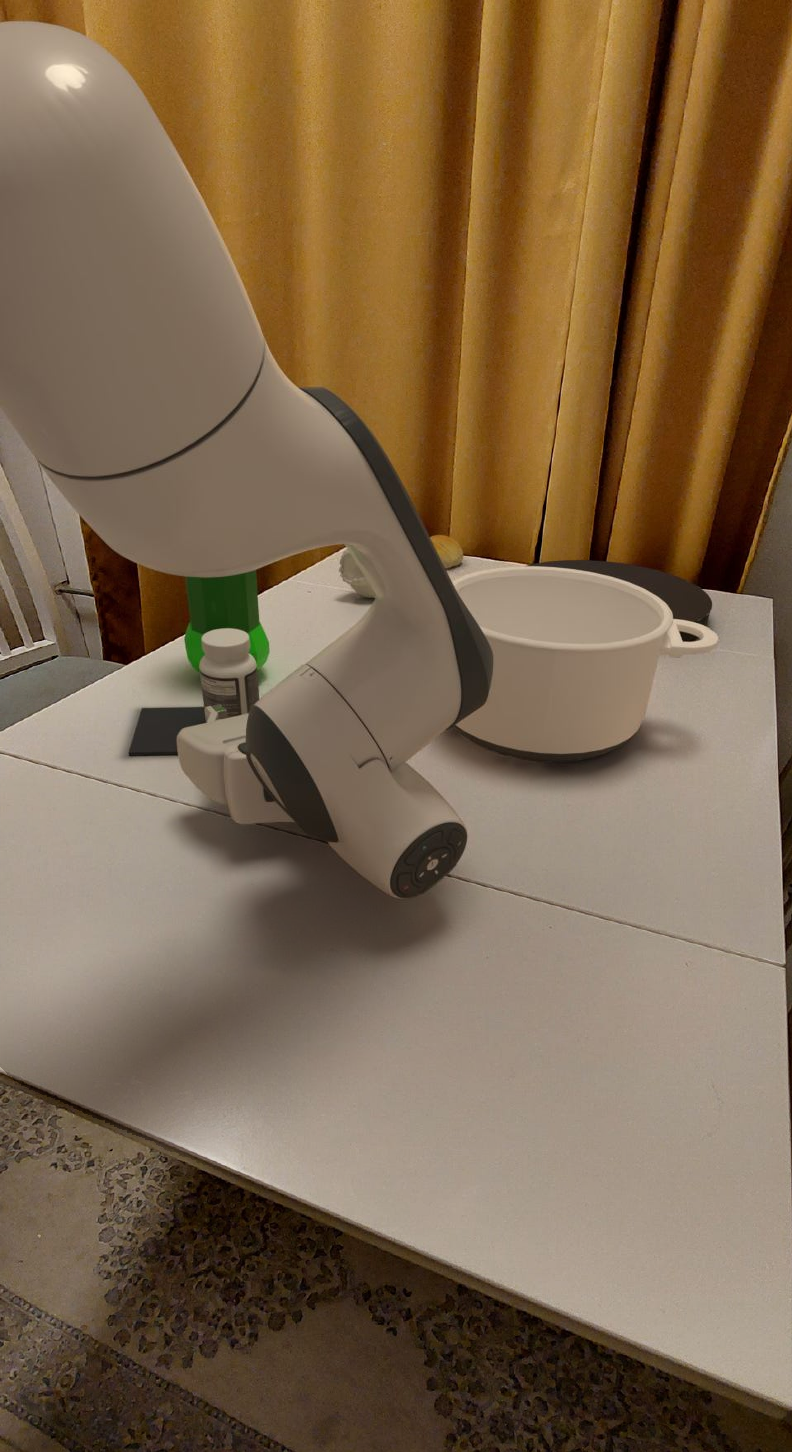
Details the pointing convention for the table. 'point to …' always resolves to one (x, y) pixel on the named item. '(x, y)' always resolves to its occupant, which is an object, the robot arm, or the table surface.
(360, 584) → the white lumpy rounded piece
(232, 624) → the plastic bottle
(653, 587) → the disc
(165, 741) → the slate mat
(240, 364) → the robot arm
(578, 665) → the pot
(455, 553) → the bread roll
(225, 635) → the pill bottle
